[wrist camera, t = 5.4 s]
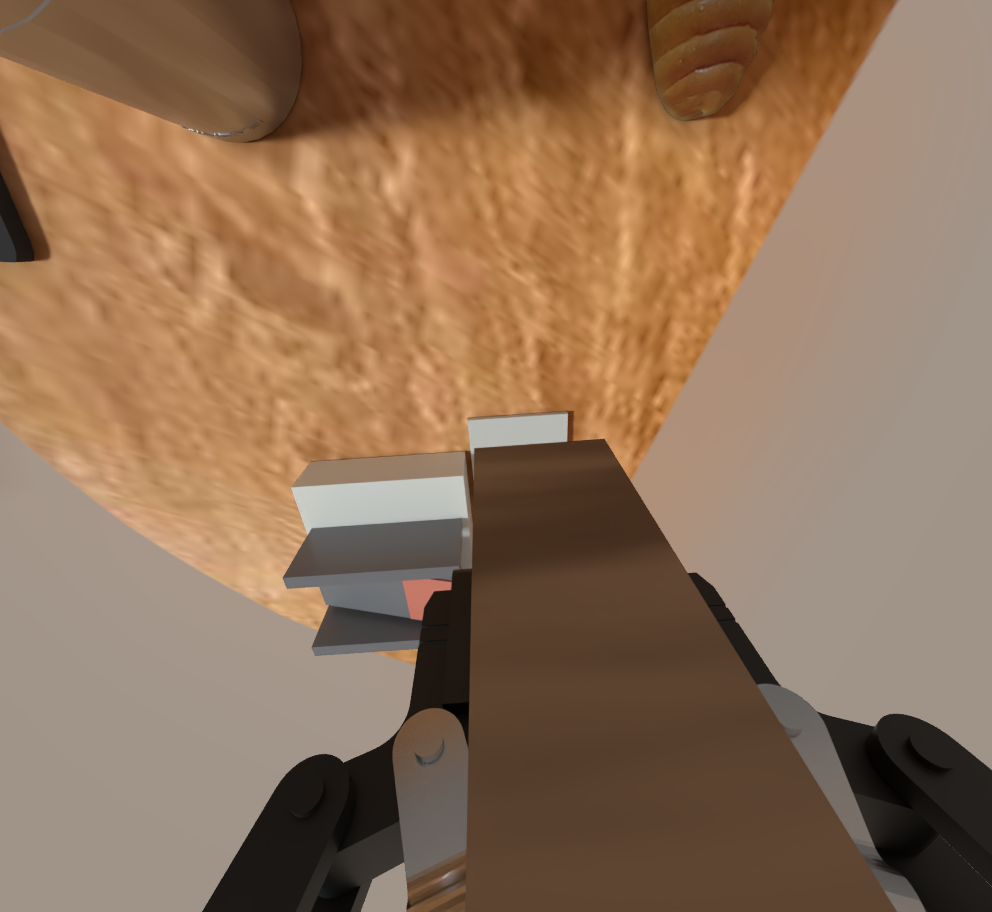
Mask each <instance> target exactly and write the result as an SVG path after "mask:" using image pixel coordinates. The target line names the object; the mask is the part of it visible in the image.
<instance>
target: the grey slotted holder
mask: <svg viewBox="0 0 992 912" xmlns="http://www.w3.org/2000/svg"><path fill="white" fill-rule="evenodd" d="M291 489H292V492H293V495H294V497H295V500H296V503H297V506H298V509H299V512H300V514H301V517H302V520H303V523H304V526H305V529H306V531H307V534H308V536H307V537H306V539H305V541H304V542H303V544H302V546H301V548H300V549H299V551H298V553H297V554H296V556H295V558H294V559H293V561H292V563H291V565H290V566H289V568H288V570H287V571H286V573H285V575H284V577H283V580H284V583H285V585H286V587H287V589H290V588H305V587H319V586H334V585H349V584H363V583H378V582H392V581H407V580H422V579H436V578H451V577H452V573H453V570H454V569H460V568H461V569H468V568H472V539H473V521H472V512H471V502H470V493H469V484H468V474H467V465H466V456H465V451H463V452H448V453H433V454H418V455H404V456H389V457H374V458H360V459H345V460H330V461H315V462H310V463H309V465H308V466H307V467H306V469H305V470H304V471H303V472H302V474H301V475H300V476H299V478H298V479H297V480H296V482H295V483H294V484H293V486H292V487H291ZM421 629H422V620H415V619H411V618H406V617H400V616H394V615H387V614H381V613H375V612H369V611H362V610H356V609H350V608H343V607H337V606H331V605H329V607H328V609H327V612H326V614H325V616H324V619H323V621H322V624H321V626H320V628H319V631H318V633H317V636H316V638H315V640H314V643H313V646H312V649H313V652H314V654H315V656H321V655H335V654H350V653H364V652H379V651H394V650H408V649H418V646H419V639H420V633H421Z"/></svg>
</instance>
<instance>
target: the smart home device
mask: <svg viewBox="0 0 992 912" xmlns="http://www.w3.org/2000/svg"><path fill="white" fill-rule="evenodd" d="M33 259H34V252H33V248H32V245H31V242H30V240H29V237H28V235H27V233H26V230H25V228H24V226H23V223H22V221H21V219H20V216H19V214H18V212H17V210H16V207H15V205H14V203H13V200H12V198H11V196H10V193H9V191H8V189H7V186H6V184H5V182H4V180H3V177H2V175H1V173H0V262H30V261H33Z"/></svg>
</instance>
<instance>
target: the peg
mask: <svg viewBox="0 0 992 912" xmlns="http://www.w3.org/2000/svg"><path fill="white" fill-rule="evenodd" d="M465 912H897V911H896V909H895V908H894V906H893V904H892V903H891V901H890V899H889V898H888V896H887V895H886V893H885V891H884V890H883V888H882V887H881V885H880V883H879V882H878V880H877V878H876V877H875V875H874V874H873V872H872V870H871V869H870V867H869V866H868V864H867V862H866V861H865V859H864V857H863V856H862V854H861V853H860V851H859V849H858V848H857V846H856V845H855V843H854V841H853V840H852V838H851V836H850V835H849V833H848V832H847V830H846V828H845V827H844V825H843V824H842V822H841V820H840V819H839V817H838V815H837V814H836V812H835V811H834V809H833V807H832V806H831V804H830V803H829V801H828V799H827V798H826V796H825V794H824V793H823V791H822V790H821V788H820V786H819V785H818V783H817V782H816V780H815V778H814V777H813V775H812V773H811V772H810V770H809V769H808V767H807V765H806V764H805V762H804V761H803V759H802V757H801V756H800V754H799V752H798V751H797V749H796V748H795V746H794V744H793V743H792V741H791V740H790V738H789V736H788V735H787V733H786V731H785V730H784V728H783V727H782V725H781V723H780V722H779V720H778V719H777V717H776V715H775V714H774V712H773V710H772V709H771V707H770V706H769V704H768V702H767V701H766V699H765V698H764V696H763V694H762V693H761V691H760V689H759V688H758V686H757V685H756V683H755V681H754V680H753V678H752V677H751V675H750V673H749V672H748V670H747V668H746V667H745V665H744V664H743V662H742V660H741V659H740V657H739V656H738V654H737V652H736V651H735V649H734V647H733V646H732V644H731V643H730V641H729V639H728V638H727V636H726V635H725V633H724V631H723V630H722V628H721V626H720V625H719V623H718V622H717V620H716V618H715V617H714V615H713V614H712V612H711V610H710V609H709V607H708V605H707V604H706V602H705V601H704V599H703V597H702V596H701V594H700V593H699V591H698V589H697V588H696V586H695V584H694V583H693V581H692V580H691V578H690V576H689V575H688V573H687V572H686V570H685V568H684V567H683V565H682V564H681V562H680V560H679V559H678V557H677V555H676V554H675V552H674V551H673V549H672V547H671V546H670V544H669V542H668V541H667V540H666V538H665V536H664V534H663V533H662V531H661V530H660V528H659V526H658V525H657V523H656V521H655V520H654V518H653V517H652V515H651V514H650V512H649V510H648V509H647V507H646V505H645V504H644V502H643V501H642V499H641V497H640V496H639V494H638V492H637V491H636V489H635V488H634V486H633V484H632V483H631V481H630V479H629V478H628V476H627V475H626V473H625V471H624V470H623V468H622V467H621V465H620V463H619V462H618V460H617V458H616V457H615V455H614V454H613V452H612V450H611V449H610V447H609V446H608V444H607V442H606V441H605V439H596V440H582V441H568V442H554V443H540V444H526V445H512V446H498V447H484V448H474V488H473V539H472V591H471V642H470V694H469V745H468V797H467V848H466V899H465Z"/></svg>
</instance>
